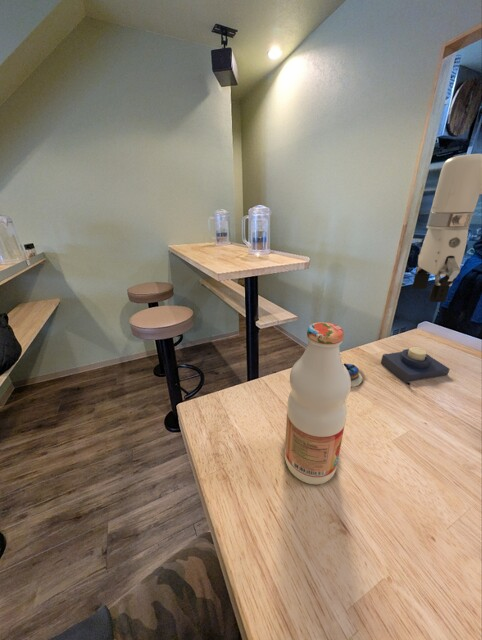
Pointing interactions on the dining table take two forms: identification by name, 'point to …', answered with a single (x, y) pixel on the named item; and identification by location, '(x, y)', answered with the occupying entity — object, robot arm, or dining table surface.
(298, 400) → the fruit juice
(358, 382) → the dessert
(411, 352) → the push cap
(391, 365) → the push cap base
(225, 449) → the dining table surface
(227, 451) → the dining table surface
